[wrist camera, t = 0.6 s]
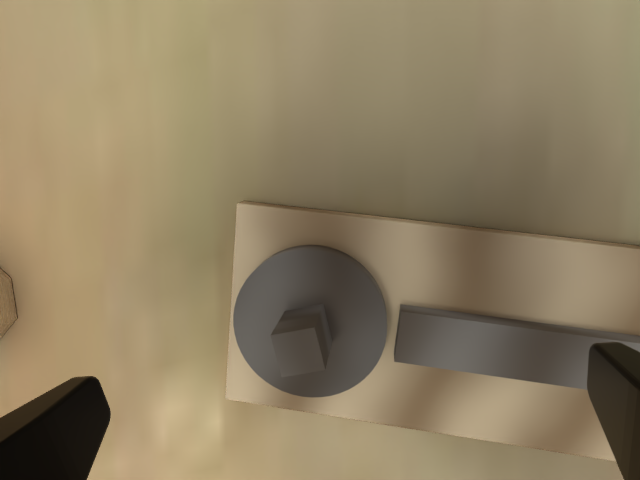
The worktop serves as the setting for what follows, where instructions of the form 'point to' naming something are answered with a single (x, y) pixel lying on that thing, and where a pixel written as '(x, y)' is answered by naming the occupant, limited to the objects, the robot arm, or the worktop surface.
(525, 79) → the worktop surface
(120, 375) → the worktop surface
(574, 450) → the board
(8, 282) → the silver cylindrical piece
